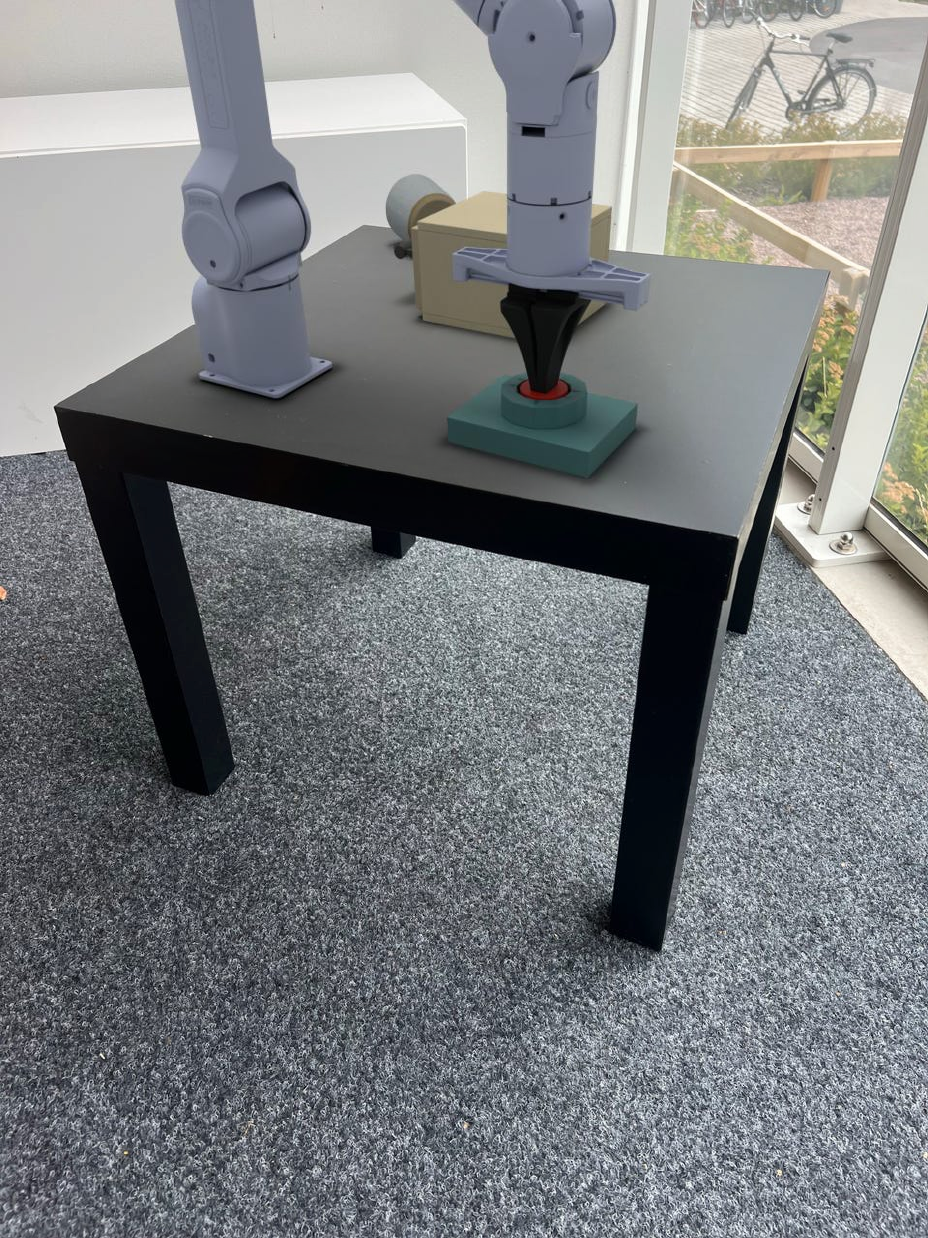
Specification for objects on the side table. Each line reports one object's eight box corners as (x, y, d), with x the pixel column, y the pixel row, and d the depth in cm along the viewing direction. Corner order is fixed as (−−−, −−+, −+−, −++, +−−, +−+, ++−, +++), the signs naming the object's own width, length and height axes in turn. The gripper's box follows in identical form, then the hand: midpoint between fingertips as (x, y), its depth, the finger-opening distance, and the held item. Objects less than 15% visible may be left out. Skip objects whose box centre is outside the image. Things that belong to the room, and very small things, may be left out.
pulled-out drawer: (382, 301, 92) (375, 222, 87) (440, 270, 100) (437, 195, 95) (532, 330, 85) (534, 245, 80) (583, 294, 92) (587, 214, 87)
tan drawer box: (422, 320, 90) (416, 220, 84) (484, 283, 98) (483, 190, 92) (550, 345, 84) (554, 240, 78) (605, 304, 92) (612, 205, 86)
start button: (511, 412, 68) (511, 391, 67) (533, 395, 70) (533, 374, 69) (553, 422, 66) (554, 401, 65) (574, 404, 69) (575, 382, 68)
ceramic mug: (410, 261, 105) (406, 191, 101) (386, 243, 111) (382, 176, 107) (490, 249, 109) (490, 181, 104) (463, 232, 115) (462, 167, 110)
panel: (448, 442, 69) (445, 394, 67) (503, 398, 75) (503, 353, 73) (587, 479, 64) (590, 428, 62) (635, 428, 70) (640, 381, 68)
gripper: (675, 192, 58) (653, 386, 67) (485, 172, 65) (487, 352, 73) (633, 218, 54) (616, 423, 62) (433, 194, 60) (442, 384, 68)
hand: (544, 387), depth 67 cm, fingers closed, pressing on start button
